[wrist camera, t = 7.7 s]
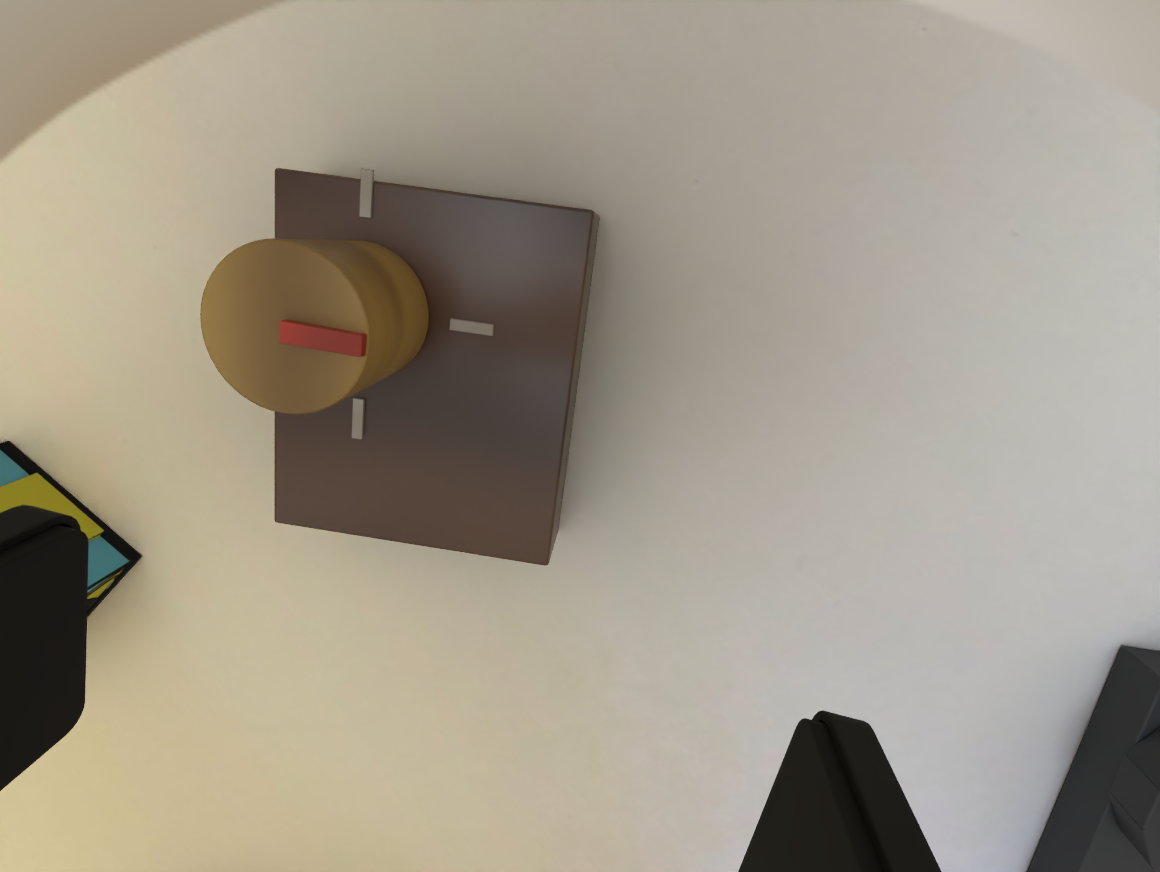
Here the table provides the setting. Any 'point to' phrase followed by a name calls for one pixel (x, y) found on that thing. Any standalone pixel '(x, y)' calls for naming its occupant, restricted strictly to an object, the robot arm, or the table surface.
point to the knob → (311, 320)
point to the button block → (1112, 780)
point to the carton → (16, 480)
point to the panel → (448, 372)
